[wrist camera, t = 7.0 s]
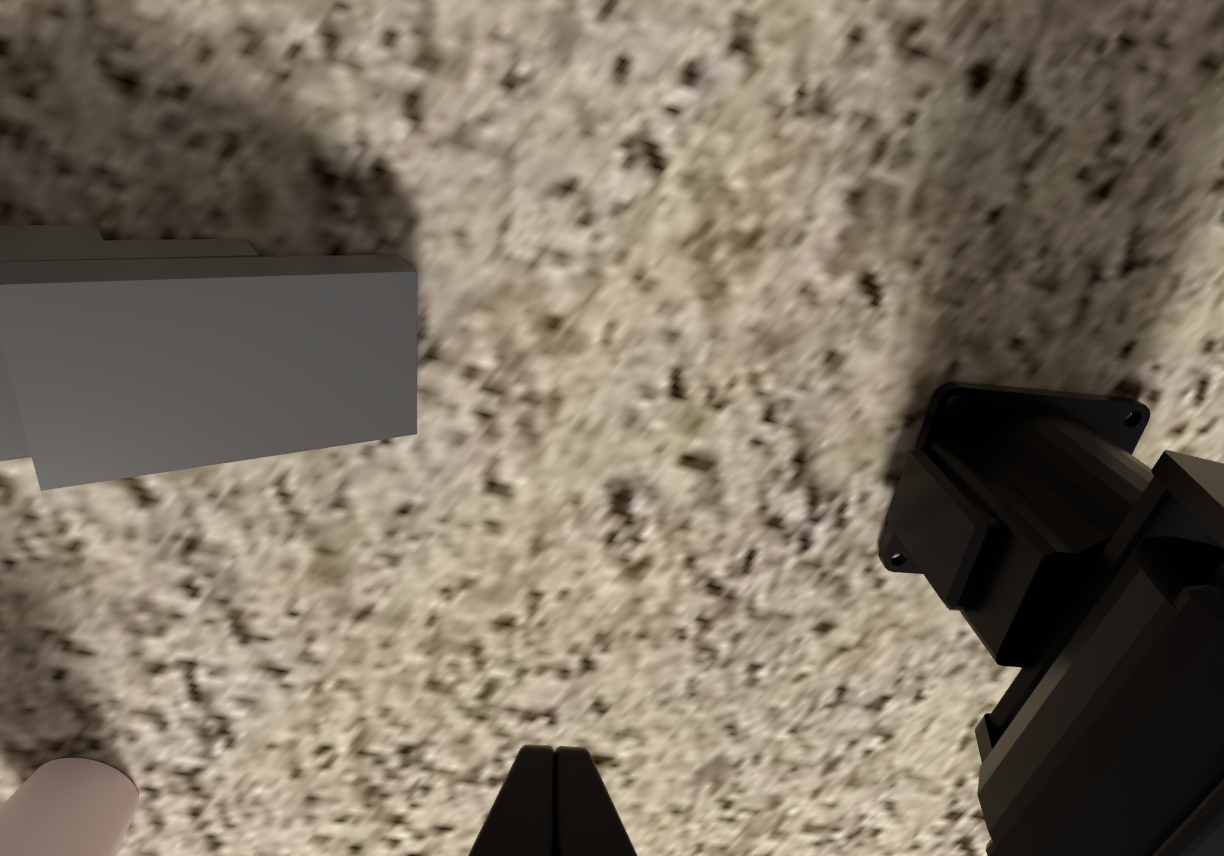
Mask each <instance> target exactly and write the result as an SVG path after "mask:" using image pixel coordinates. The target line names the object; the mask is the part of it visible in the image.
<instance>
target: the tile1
mask: <svg viewBox="0 0 1224 856" xmlns="http://www.w3.org/2000/svg"><path fill="white" fill-rule="evenodd" d="M0 340H1V344H2V348H3V351H4V355H5V359H6V362H7V366H8V370H9V374H10V377H11V381H12V385H13V388H14V392H15V396H16V400H17V403H18V407H19V411H20V415H21V418H22V422H23V426H24V429H25V433H26V437H27V441H28V444H29V448H30V452H31V455H32V459H33V463H34V467H35V470H36V474H37V478H38V481H39V485H40V489H41V491H42V490H49V489H55V488H62V487H69V486H75V485H82V484H89V483H95V482H102V481H109V480H115V479H122V478H128V477H135V476H142V475H148V474H155V473H162V472H168V471H175V470H182V469H188V468H195V467H201V466H208V465H215V464H221V463H228V462H235V461H241V460H248V459H255V458H261V457H268V456H274V455H281V454H288V453H294V452H301V451H308V450H314V449H321V448H328V447H334V446H341V445H348V444H354V443H361V442H367V441H374V440H381V439H387V438H394V437H401V436H407V435H414V434H417V271H416V270H415V269H413V268H412V267H411V266H410V265H409V264H408V263H406V262H405V261H404V260H403V259H402V258H400V257H399V256H398V255H397V254H390V255H336V256H282V257H229V258H175V259H122V260H68V261H15V262H0Z"/></svg>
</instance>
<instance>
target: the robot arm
mask: <svg viewBox="0 0 1224 856" xmlns="http://www.w3.org/2000/svg"><path fill="white" fill-rule="evenodd" d="M955 395H958V396H957V400H956V401H955V402H954V403H953V404H951V405H947V401H948V400H949V398H951V397H953V396H955ZM1130 413H1132V414H1131V416H1130V417H1129V418H1128V419H1126V420H1125V418H1126V416H1127V415H1128V414H1130ZM1149 418H1150V410H1149V408H1148V407H1147V406H1146V405H1144V404H1142V403H1141V402H1139V401H1137V400H1135V399H1132V398H1123V397H1113V396H1102V395H1091V394H1081V393H1070V392H1059V391H1049V390H1038V389H1027V388H1016V387H1006V386H995V385H984V384H974V383H963V382H947V383H945V384H943V385H941V386H940V387H939V388H938V389H937V390H936V391H935V393H934V394H933V396H932V399H931V402H930V405H929V408H928V411H927V414H926V416H925V419H924V422H923V425H922V428H921V431H920V434H919V437H918V440H917V443H916V445H915V448H914V449H913V450H912V451H911V452H910V453H909V455H908V458H907V461H906V464H905V467H904V470H903V473H902V475H901V478H900V481H899V484H898V487H897V490H896V493H895V496H894V499H893V502H892V505H891V508H890V511H889V513H888V516H887V522H888V527H887V529H886V532H885V535H884V538H883V541H882V544H881V547H880V550H879V558H880V560H881V562H882V563H883V565H884V567H885V568H886V569H887V570H889V571H892V572H902V573H917V574H924V576H925V577H926V578H927V580H928V581H929V583H930V584H931V586H932V587H933V589H934V590H935V591H936V593H937V594H938V596H939V597H940V599H941V600H942V601H943V603H944V604H945V605H946V607H947V608H948V609H949V610H958V611H960V612H961V614H962V615H963V616H964V618H965V619H966V621H967V622H968V623H969V625H970V626H971V628H972V629H973V630H974V632H975V633H976V635H977V636H978V637H979V639H980V640H981V642H982V643H983V644H984V646H985V647H986V649H987V650H988V651H989V653H990V654H991V656H992V657H993V658H994V660H995V661H996V663H997V664H998V665H1001V666H1012V667H1021V668H1022V669H1021V670H1020V672H1019V673H1018V675H1017V676H1016V678H1015V679H1014V681H1013V682H1012V684H1011V685H1010V687H1009V688H1008V689H1007V691H1006V692H1005V694H1004V695H1003V697H1002V698H1001V700H1000V701H999V703H998V704H997V705H996V707H995V708H994V710H993V711H992V713H991V714H990V713H989V714H985V715H984V716H983V718H982V719H981V721H980V722H979V724H978V725H977V727H976V728H975V734H976V739H977V743H978V748H979V752H980V756H981V761H982V765H981V767H980V776H979V785H978V798H979V801H980V805H981V808H982V811H983V815H984V818H985V822H986V825H987V829H988V832H989V834H990V836H991V838H992V839H991V840H990V841H989V843H988V844H987V847H986V852H987V855H988V856H1224V464H1222V463H1218V462H1214V461H1210V460H1206V459H1202V458H1198V457H1194V456H1190V455H1185V454H1181V453H1177V452H1173V451H1169V450H1165V451H1164V452H1163V454H1162V455H1161V457H1160V458H1159V460H1158V461H1157V463H1156V464H1155V466H1154V467H1153V468H1152V469H1151V468H1149V467H1148V466H1146V465H1145V464H1143V463H1142V462H1141V461H1139V460H1138V459H1136V458H1135V457H1133V456H1132V453H1133V451H1134V449H1135V447H1136V445H1137V443H1138V441H1139V439H1140V437H1141V435H1142V433H1143V431H1144V429H1145V427H1146V425H1147V423H1148V421H1149ZM1124 420H1125V421H1124ZM897 553H901V554H900V555H899V556H898V557H896V558H892V557H893V556H894V555H895V554H897ZM468 856H637V854H636V852H635V849H634V847H633V845H632V843H631V841H630V839H629V837H628V834H627V832H626V830H625V828H624V826H623V824H622V821H621V819H620V817H619V815H618V813H617V811H616V808H615V806H614V804H613V802H612V800H611V798H610V796H609V793H608V791H607V789H606V787H605V785H604V783H603V780H602V778H601V776H600V774H599V772H598V770H597V767H596V765H595V763H594V761H593V759H592V757H591V755H590V753H589V752H588V750H587V749H585V748H583V747H567V746H560V747H558V748H556V750H555V752H554V749H553V748H552V747H551V746H546V745H524V746H523V747H522V748H521V749H520V751H519V752H518V755H517V757H516V759H515V761H514V763H513V765H512V767H511V769H510V771H509V773H508V775H507V777H506V779H505V781H504V783H503V785H502V787H501V789H500V791H499V793H498V796H497V798H496V800H495V802H494V804H493V806H492V808H491V810H490V812H489V814H488V816H487V818H486V820H485V822H484V824H483V826H482V828H481V830H480V832H479V835H478V837H477V839H476V841H475V843H474V845H473V847H472V849H471V851H470V853H469V855H468Z"/></svg>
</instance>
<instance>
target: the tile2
mask: <svg viewBox="0 0 1224 856" xmlns="http://www.w3.org/2000/svg"><path fill="white" fill-rule="evenodd" d="M229 257H259V255H258V254H257V252H256V251H255V250H254V249H253V248H252V246H251V245H250V244H249V243H248V241H247V240H246V239H171V240H88V241H4V242H0V262H15V261H68V260H122V259H175V258H229ZM26 457H32V455H31V452H30V448H29V444H28V441H27V437H26V433H25V429H24V426H23V422H22V418H21V415H20V411H19V407H18V403H17V400H16V396H15V392H14V388H13V385H12V381H11V377H10V374H9V370H8V366H7V362H6V359H5V355H4V351H3V348H2V344H1V340H0V461H5V460H12V459H19V458H26Z"/></svg>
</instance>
